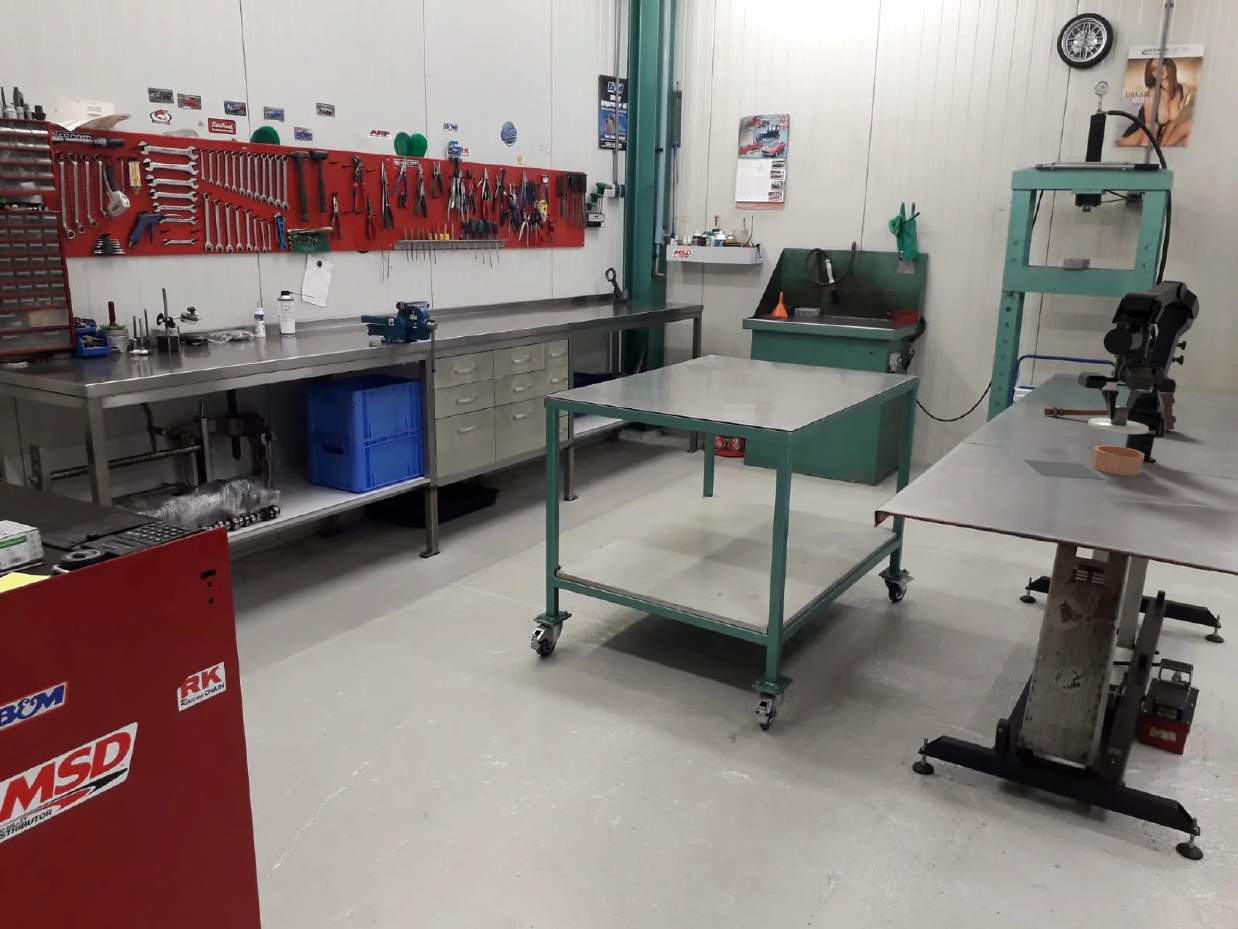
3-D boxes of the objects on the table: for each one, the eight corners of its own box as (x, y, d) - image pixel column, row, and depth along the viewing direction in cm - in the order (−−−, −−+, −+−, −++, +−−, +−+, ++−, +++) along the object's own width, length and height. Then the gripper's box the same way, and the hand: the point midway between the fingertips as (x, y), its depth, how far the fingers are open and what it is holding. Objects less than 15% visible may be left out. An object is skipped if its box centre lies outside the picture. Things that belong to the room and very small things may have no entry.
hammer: (1176, 429, 247) (1175, 393, 245) (1044, 434, 263) (1042, 400, 261) (1175, 425, 252) (1174, 389, 251) (1046, 430, 269) (1044, 397, 267)
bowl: (1084, 462, 212) (1087, 444, 211) (1128, 465, 211) (1132, 447, 210) (1101, 474, 203) (1104, 454, 201) (1147, 477, 202) (1151, 458, 201)
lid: (1080, 419, 211) (1083, 399, 209) (1134, 423, 209) (1138, 402, 208) (1099, 432, 199) (1103, 411, 198) (1157, 435, 198) (1162, 414, 196)
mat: (1023, 460, 211) (1023, 459, 211) (1081, 464, 210) (1081, 463, 210) (1041, 476, 199) (1042, 474, 199) (1103, 480, 198) (1104, 479, 198)
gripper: (1101, 354, 193) (1088, 425, 197) (1195, 359, 191) (1179, 431, 195) (1082, 346, 203) (1070, 414, 208) (1171, 350, 201) (1157, 419, 206)
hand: (1119, 419), depth 204 cm, fingers closed on lid, 3 cm apart
